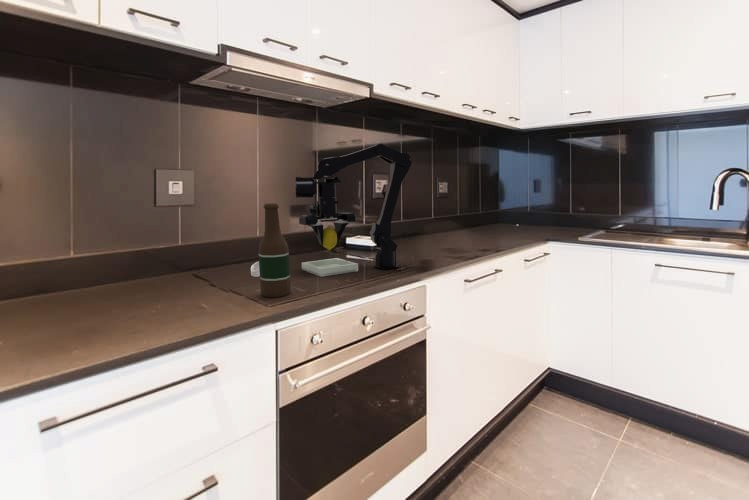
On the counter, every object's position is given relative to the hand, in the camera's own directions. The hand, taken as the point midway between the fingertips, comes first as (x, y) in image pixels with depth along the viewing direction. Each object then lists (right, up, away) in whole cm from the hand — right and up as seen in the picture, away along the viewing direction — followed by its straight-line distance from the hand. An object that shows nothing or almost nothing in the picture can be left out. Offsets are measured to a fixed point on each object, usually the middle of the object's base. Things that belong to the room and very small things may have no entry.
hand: (329, 244), depth 136 cm
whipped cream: (-22, -10, -4) cm, 24 cm away
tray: (0, -9, +1) cm, 9 cm away
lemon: (0, -2, 0) cm, 2 cm away
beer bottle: (-11, -14, -28) cm, 33 cm away
